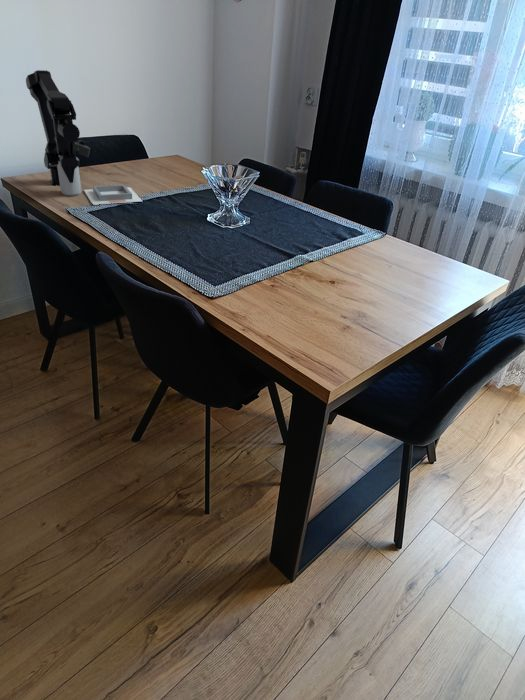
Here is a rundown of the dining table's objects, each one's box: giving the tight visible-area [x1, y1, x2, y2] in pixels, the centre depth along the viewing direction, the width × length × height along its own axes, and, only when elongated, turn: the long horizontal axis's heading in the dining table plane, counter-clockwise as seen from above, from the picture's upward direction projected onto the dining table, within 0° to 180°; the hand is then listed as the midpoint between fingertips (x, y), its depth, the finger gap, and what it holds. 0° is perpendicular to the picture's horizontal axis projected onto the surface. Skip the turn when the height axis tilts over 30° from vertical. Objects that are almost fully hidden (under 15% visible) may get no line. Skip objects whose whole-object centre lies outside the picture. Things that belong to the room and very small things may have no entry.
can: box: [57, 161, 82, 197], centre depth 186 cm, size 8×8×12 cm
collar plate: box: [83, 184, 143, 206], centre depth 189 cm, size 18×18×3 cm
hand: (69, 179), depth 186 cm, fingers closed on can, 7 cm apart
